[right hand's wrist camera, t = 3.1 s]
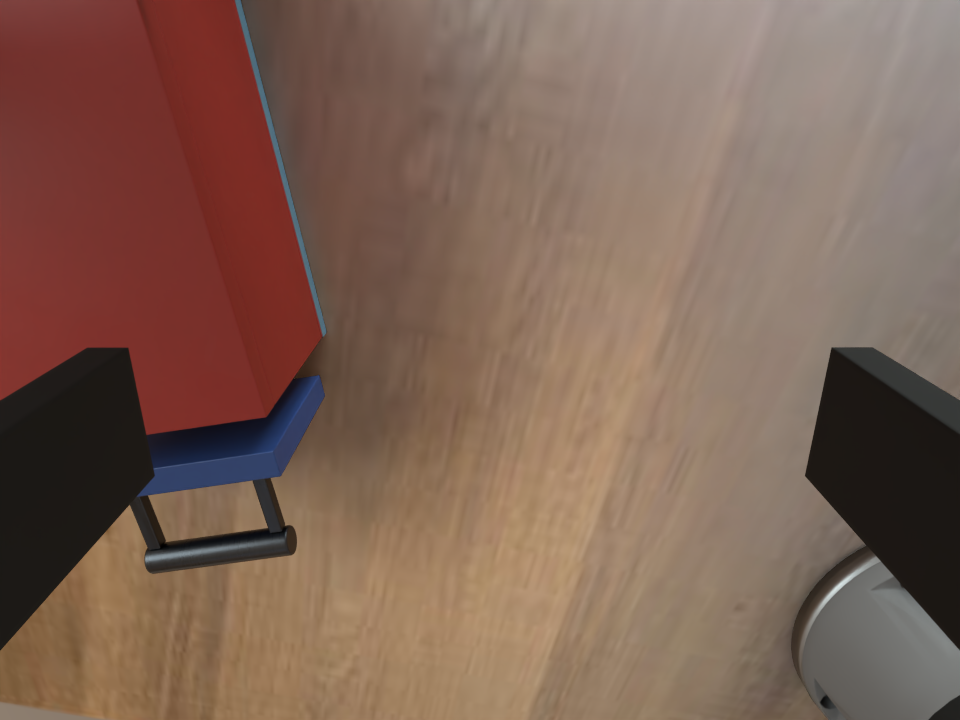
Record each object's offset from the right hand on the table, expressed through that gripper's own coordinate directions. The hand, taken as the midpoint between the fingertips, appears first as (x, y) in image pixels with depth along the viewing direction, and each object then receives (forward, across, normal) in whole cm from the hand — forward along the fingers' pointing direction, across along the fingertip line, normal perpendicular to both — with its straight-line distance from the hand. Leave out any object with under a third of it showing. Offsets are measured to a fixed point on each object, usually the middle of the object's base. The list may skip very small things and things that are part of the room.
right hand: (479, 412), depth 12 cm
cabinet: (+21, +15, -4) cm, 26 cm away
